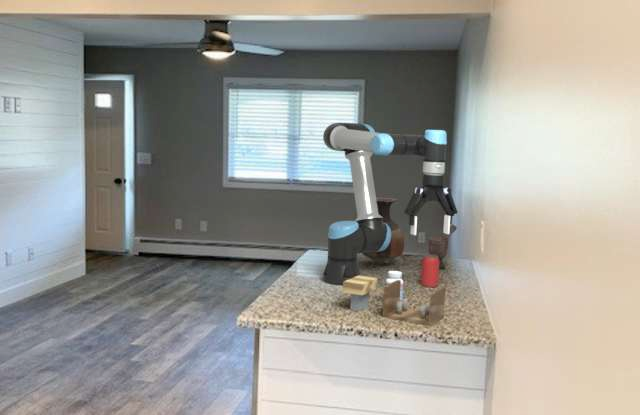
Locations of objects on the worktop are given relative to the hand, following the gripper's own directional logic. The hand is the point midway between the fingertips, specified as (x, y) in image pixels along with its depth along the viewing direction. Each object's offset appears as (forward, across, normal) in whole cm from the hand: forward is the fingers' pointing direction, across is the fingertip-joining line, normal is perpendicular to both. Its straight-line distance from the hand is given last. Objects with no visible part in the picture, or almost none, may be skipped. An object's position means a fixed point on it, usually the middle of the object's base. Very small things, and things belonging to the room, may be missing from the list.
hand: (430, 234), depth 213 cm
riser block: (+23, -29, -5) cm, 37 cm away
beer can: (+24, +12, +16) cm, 31 cm away
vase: (+24, +12, +58) cm, 64 cm away
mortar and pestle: (+24, +35, +45) cm, 62 cm away
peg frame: (+23, -17, -20) cm, 35 cm away
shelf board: (+17, -29, -5) cm, 34 cm away
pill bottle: (+24, -15, -4) cm, 28 cm away
